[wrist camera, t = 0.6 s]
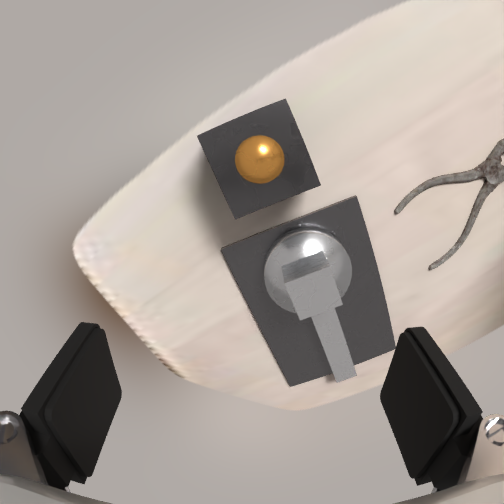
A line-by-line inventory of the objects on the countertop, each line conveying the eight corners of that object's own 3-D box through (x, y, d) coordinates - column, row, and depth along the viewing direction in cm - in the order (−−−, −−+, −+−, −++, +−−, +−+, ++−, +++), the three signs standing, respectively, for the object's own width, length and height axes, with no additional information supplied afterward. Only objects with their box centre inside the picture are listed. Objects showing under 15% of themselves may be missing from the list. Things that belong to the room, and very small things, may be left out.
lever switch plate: (355, 195, 30) (375, 211, 24) (395, 349, 37) (411, 380, 31) (221, 248, 32) (213, 274, 27) (291, 387, 39) (295, 421, 33)
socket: (280, 104, 27) (285, 98, 21) (309, 174, 29) (321, 185, 24) (208, 134, 28) (196, 135, 23) (239, 202, 30) (235, 219, 25)
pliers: (384, 224, 30) (487, 88, 24) (381, 221, 31) (483, 89, 25) (436, 276, 32) (528, 151, 26) (433, 273, 33) (524, 150, 27)
